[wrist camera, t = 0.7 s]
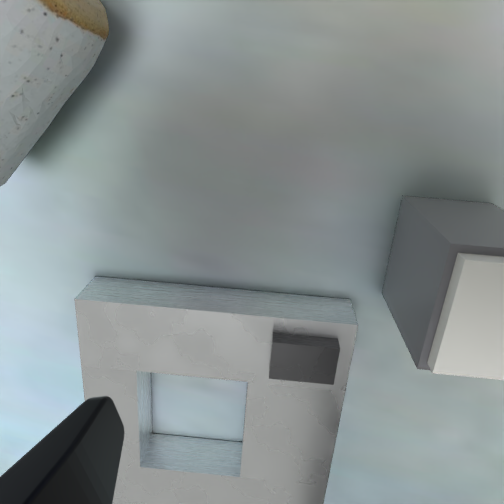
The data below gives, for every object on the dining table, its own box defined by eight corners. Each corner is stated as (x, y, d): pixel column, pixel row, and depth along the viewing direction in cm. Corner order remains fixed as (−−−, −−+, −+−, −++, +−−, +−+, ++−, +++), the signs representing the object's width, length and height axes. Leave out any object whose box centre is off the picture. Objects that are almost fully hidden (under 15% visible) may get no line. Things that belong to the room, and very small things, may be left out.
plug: (462, 300, 21) (535, 390, 15) (381, 292, 21) (422, 379, 15) (491, 202, 19) (588, 262, 13) (402, 195, 20) (458, 250, 13)
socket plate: (314, 494, 27) (319, 546, 24) (110, 473, 27) (90, 522, 24) (350, 299, 22) (361, 334, 19) (95, 276, 22) (66, 307, 19)
